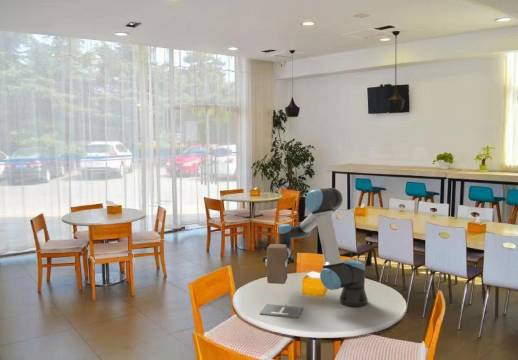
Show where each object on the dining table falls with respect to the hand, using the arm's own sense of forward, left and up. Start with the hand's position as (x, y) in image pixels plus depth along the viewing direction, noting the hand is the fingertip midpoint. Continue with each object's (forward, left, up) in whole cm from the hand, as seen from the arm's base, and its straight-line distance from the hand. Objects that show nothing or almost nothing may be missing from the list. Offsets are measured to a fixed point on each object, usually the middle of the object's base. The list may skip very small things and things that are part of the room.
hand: (275, 263), depth 254 cm
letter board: (-5, +8, -23) cm, 25 cm away
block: (0, -4, -11) cm, 12 cm away
